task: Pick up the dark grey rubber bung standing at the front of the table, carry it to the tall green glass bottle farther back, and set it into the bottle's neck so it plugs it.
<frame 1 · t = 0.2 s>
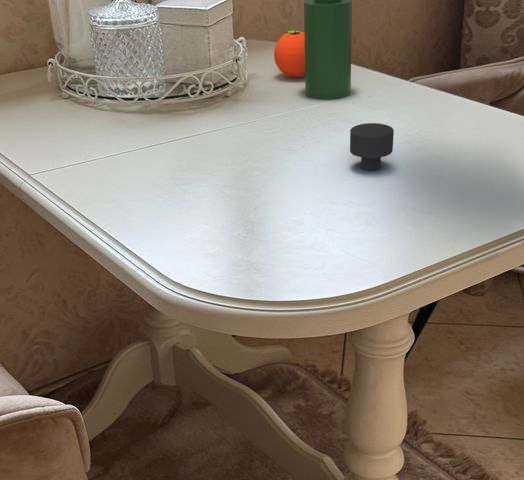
bung: (370, 167, 94), on the table
clementine: (294, 76, 129), on the table
bottle: (327, 92, 120), on the table
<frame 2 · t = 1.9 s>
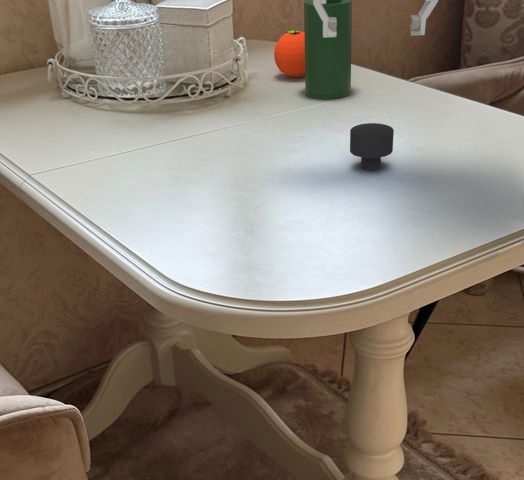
hand: (373, 35, 86), 15 cm above the table, tool pointing down, fingers open, 8 cm apart
nothing on the table moved.
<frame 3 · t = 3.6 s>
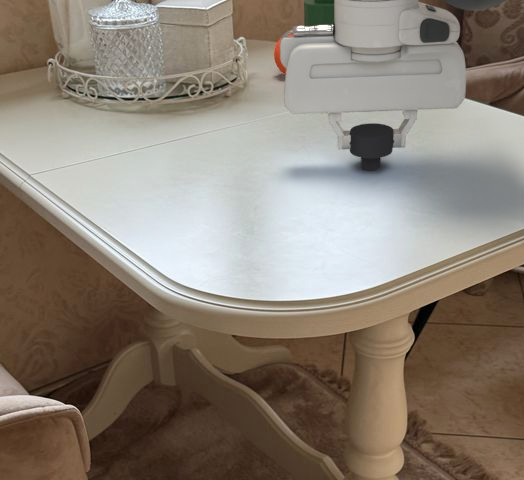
hand: (371, 147, 93), 2 cm above the table, tool pointing down, fingers closed on bung, 5 cm apart
bung: (370, 167, 94), on the table, touching gripper
everything else where it was.
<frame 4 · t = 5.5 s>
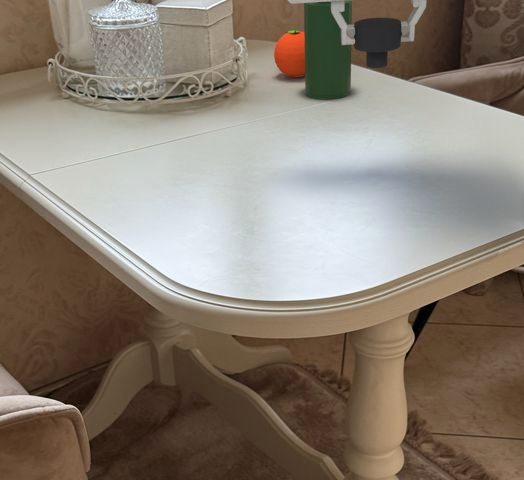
hand: (377, 42, 86), 14 cm above the table, tool pointing down, fingers closed on bung, 5 cm apart
bung: (376, 65, 87), point 12 cm above the table, touching gripper
everything else where it was.
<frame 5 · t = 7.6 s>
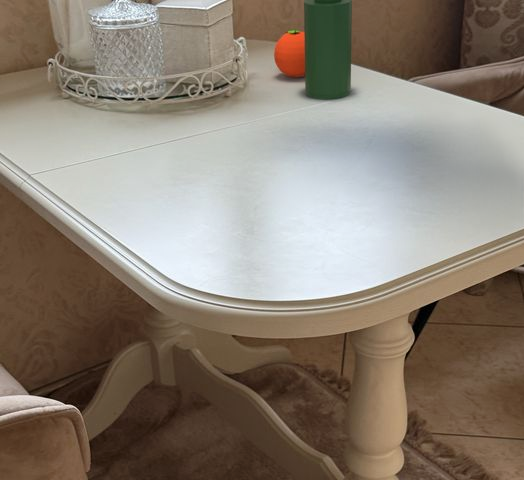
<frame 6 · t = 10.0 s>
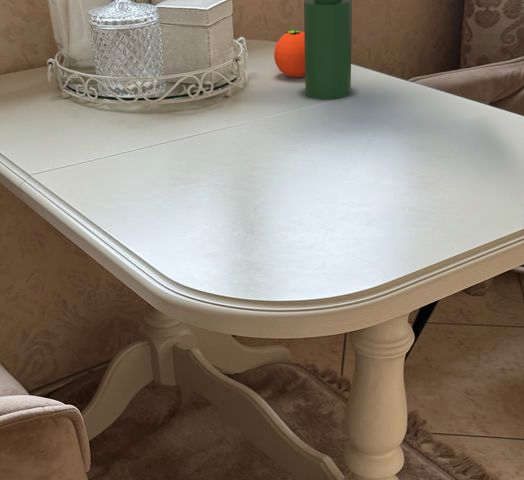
when the fingers open (17 cm above the table, at t = 11.7 s): bung stays where it is, resting on bottle.
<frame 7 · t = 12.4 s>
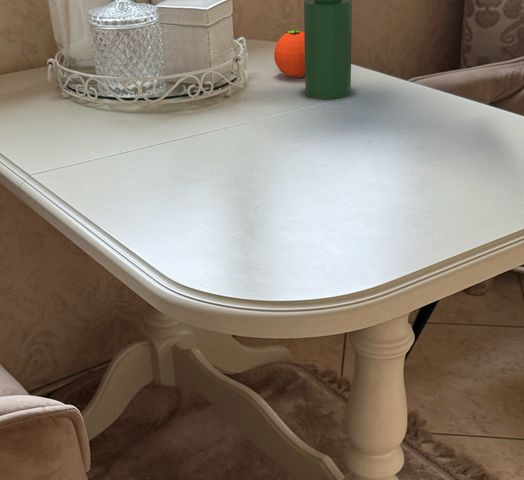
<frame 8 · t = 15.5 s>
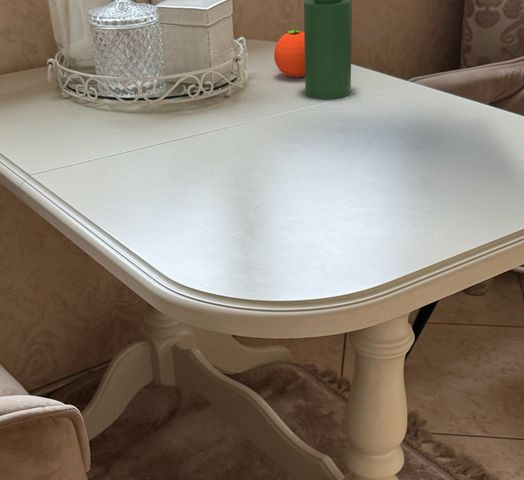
at the end: bung 0.1 cm off-centre in the bottle, point 15.0 cm above the bottle's base; bung tilted 0°; the gripper is holding nothing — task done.
